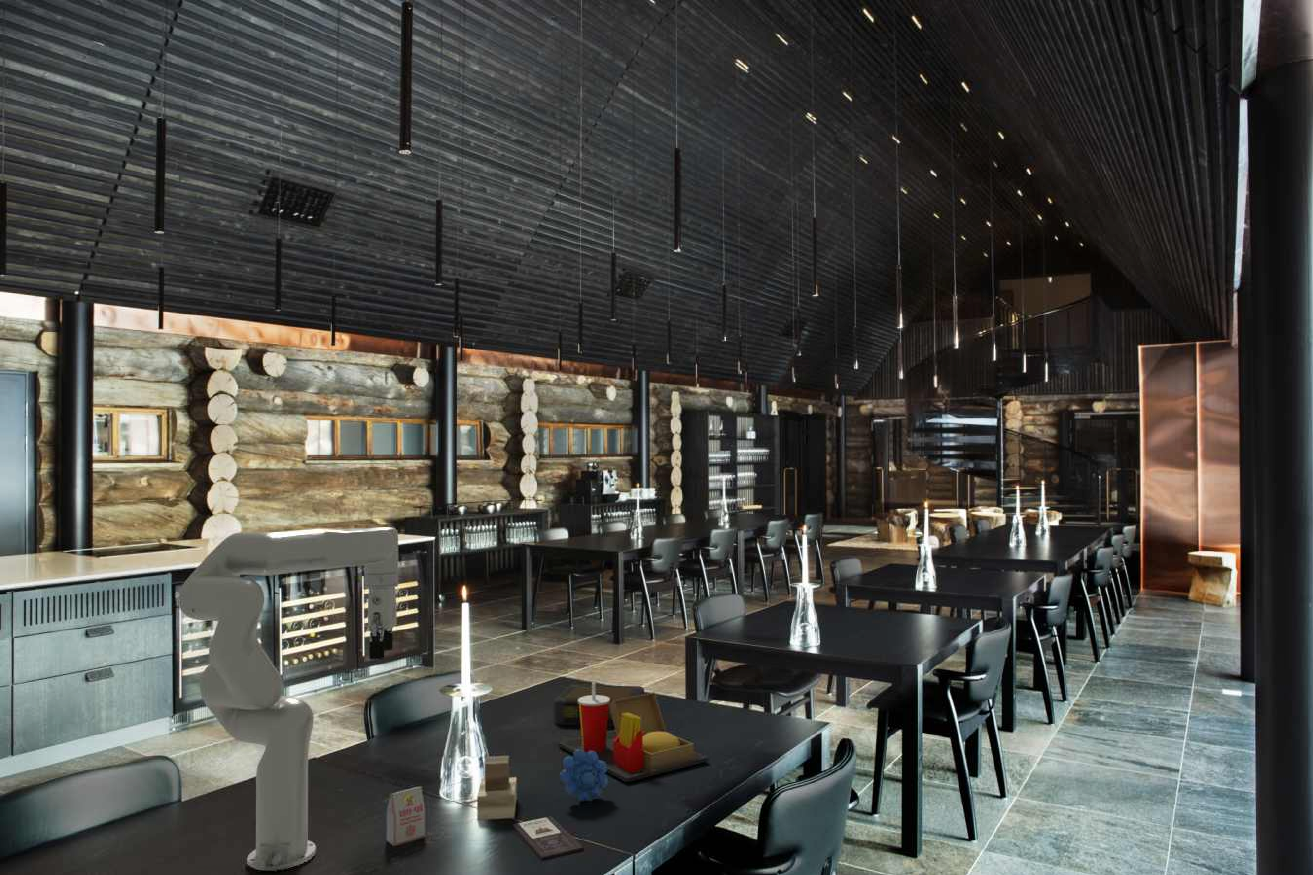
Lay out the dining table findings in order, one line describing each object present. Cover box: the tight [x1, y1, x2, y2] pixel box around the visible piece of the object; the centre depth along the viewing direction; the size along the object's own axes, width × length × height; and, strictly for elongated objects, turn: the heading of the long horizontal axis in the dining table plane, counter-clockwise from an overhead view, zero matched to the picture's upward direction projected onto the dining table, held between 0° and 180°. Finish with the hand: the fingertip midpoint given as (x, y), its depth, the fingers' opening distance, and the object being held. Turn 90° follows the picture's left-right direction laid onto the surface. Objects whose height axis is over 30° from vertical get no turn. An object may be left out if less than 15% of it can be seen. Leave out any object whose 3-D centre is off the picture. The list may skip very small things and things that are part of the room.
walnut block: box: [484, 755, 510, 791], centre depth 194 cm, size 5×5×6 cm
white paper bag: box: [386, 785, 426, 847], centre depth 179 cm, size 4×7×10 cm, turn 129°
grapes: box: [559, 749, 609, 802], centre depth 197 cm, size 12×7×12 cm, turn 114°
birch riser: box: [476, 776, 518, 821], centre depth 194 cm, size 11×8×5 cm
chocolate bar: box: [511, 815, 585, 861], centre depth 178 cm, size 9×1×18 cm
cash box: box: [553, 684, 645, 727], centre depth 266 cm, size 25×20×8 cm
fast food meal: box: [557, 682, 709, 783], centre depth 229 cm, size 26×35×18 cm
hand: (381, 654), depth 199 cm, fingers open, 9 cm apart
